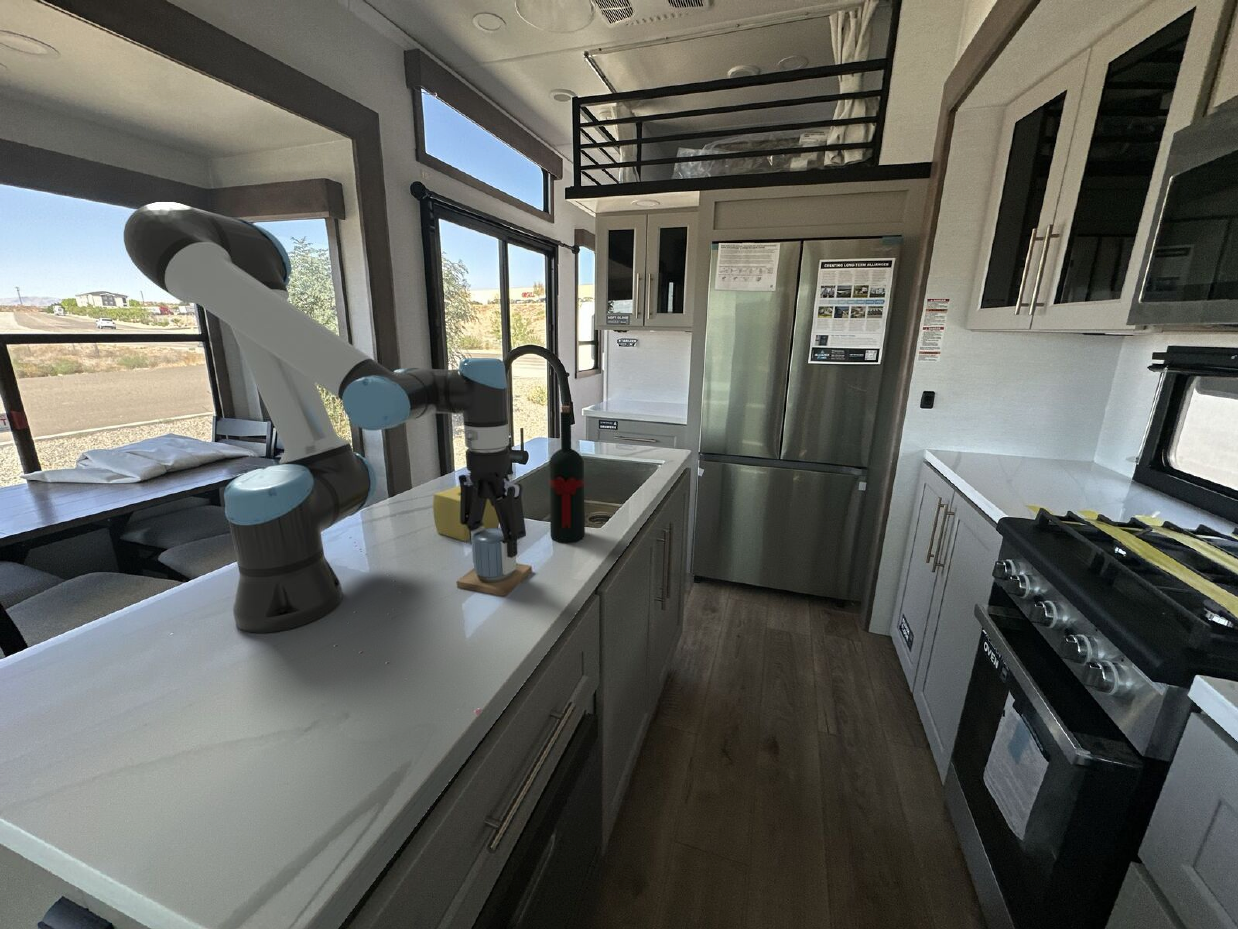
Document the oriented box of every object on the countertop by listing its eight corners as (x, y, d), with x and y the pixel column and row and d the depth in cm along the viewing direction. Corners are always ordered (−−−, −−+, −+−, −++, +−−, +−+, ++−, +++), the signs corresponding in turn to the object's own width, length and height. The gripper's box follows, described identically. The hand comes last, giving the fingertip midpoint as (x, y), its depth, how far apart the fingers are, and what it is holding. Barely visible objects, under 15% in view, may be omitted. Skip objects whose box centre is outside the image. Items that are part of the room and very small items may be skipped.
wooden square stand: (457, 587, 90) (454, 553, 88) (487, 563, 99) (485, 532, 97) (504, 596, 86) (502, 561, 85) (531, 571, 96) (530, 539, 94)
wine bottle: (548, 548, 106) (544, 411, 98) (551, 529, 116) (548, 403, 108) (584, 547, 107) (583, 411, 99) (585, 529, 116) (584, 404, 109)
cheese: (499, 528, 117) (497, 488, 114) (464, 544, 108) (460, 501, 105) (470, 519, 122) (467, 481, 119) (433, 533, 113) (429, 492, 111)
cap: (466, 570, 91) (463, 537, 89) (494, 556, 97) (492, 525, 95) (493, 580, 87) (491, 547, 85) (521, 565, 93) (519, 533, 91)
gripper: (432, 444, 88) (442, 560, 94) (514, 460, 78) (519, 589, 84) (465, 437, 94) (472, 546, 100) (545, 451, 84) (548, 572, 90)
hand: (494, 565), depth 92 cm, fingers closed on cap, 7 cm apart
